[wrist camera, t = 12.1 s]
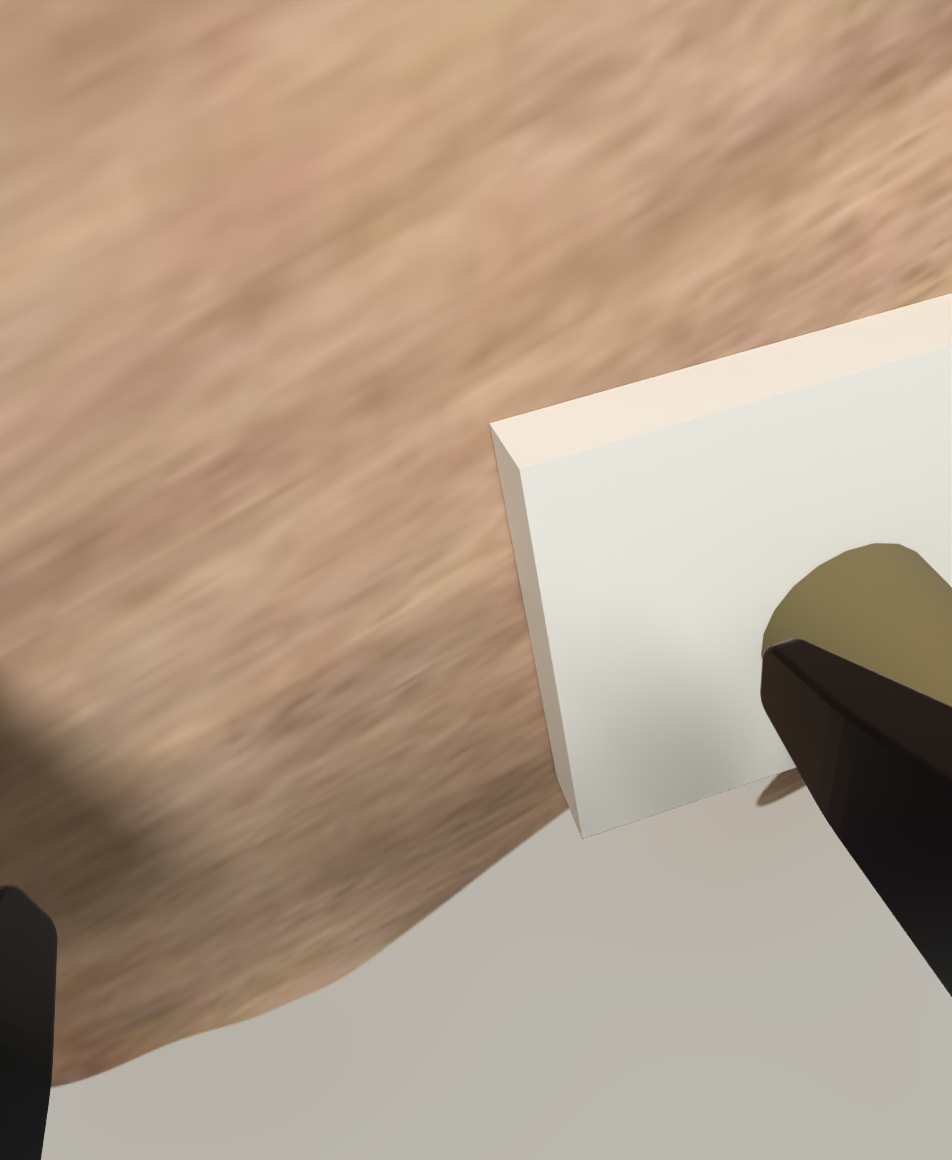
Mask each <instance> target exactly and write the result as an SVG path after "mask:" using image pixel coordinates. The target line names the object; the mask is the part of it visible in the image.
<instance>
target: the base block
mask: <svg viewBox="0 0 952 1160" xmlns="http://www.w3.org/2000/svg"><path fill="white" fill-rule="evenodd" d="M489 424H490V429H491V434H492V440H493V445H494V450H495V455H496V461H497V466H498V471H499V476H500V482H501V487H502V492H503V497H504V503H505V508H506V513H507V519H508V524H509V529H510V534H511V540H512V545H513V550H514V555H515V561H516V566H517V571H518V576H519V582H520V587H521V592H522V597H523V603H524V608H525V613H526V619H527V624H528V629H529V634H530V640H531V645H532V650H533V655H534V661H535V666H536V671H537V676H538V682H539V687H540V692H541V697H542V703H543V708H544V713H545V719H546V724H547V729H548V734H549V740H550V745H551V750H552V755H553V761H554V766H555V771H556V776H557V780H558V782H559V784H560V787H561V789H562V792H563V794H564V796H565V799H566V801H567V803H568V806H569V808H570V811H571V813H572V815H573V818H574V820H575V822H576V825H577V827H578V830H579V832H580V834H581V837H582V839H584V838H587V837H589V836H593V835H596V834H598V833H601V832H605V831H608V830H611V829H614V828H616V827H620V826H623V825H626V824H628V823H631V822H634V821H637V820H640V819H643V818H646V817H649V816H652V815H655V814H658V813H661V812H664V811H667V810H670V809H673V808H676V807H679V806H682V805H685V804H688V803H691V802H694V801H697V800H700V799H703V798H706V797H709V796H712V795H715V794H718V793H721V792H724V791H727V790H730V789H733V788H736V787H739V786H742V785H745V784H748V783H751V782H754V781H757V780H760V779H763V778H766V777H769V776H772V775H775V774H778V773H781V772H784V771H787V770H790V769H793V768H796V766H795V764H794V762H793V760H792V759H791V757H790V755H789V753H788V752H787V750H786V748H785V746H784V744H783V743H782V741H781V739H780V737H779V736H778V734H777V732H776V730H775V728H774V727H773V725H772V723H771V721H770V719H769V718H768V716H767V714H766V712H765V710H764V708H763V705H762V702H761V697H760V686H761V672H762V657H761V651H762V643H763V634H764V632H765V630H766V627H767V625H768V623H769V621H770V619H771V616H772V614H773V612H774V610H775V609H776V608H777V606H778V605H779V604H780V603H781V601H782V600H783V599H784V598H785V596H786V595H787V594H788V593H789V591H790V590H791V589H792V587H793V586H795V585H796V584H797V583H798V582H799V581H801V580H802V579H803V578H804V577H805V576H807V575H808V574H809V573H810V572H811V571H813V570H814V569H815V568H816V567H817V566H819V565H821V564H823V563H825V562H826V561H828V560H830V559H832V558H834V557H836V556H838V555H839V554H841V553H843V552H845V551H848V550H851V549H855V548H858V547H862V546H866V545H869V544H873V543H890V544H900V545H903V546H905V547H907V548H909V549H911V550H914V551H916V552H917V553H918V554H919V555H920V556H921V557H922V558H923V559H924V560H925V561H926V562H927V563H928V564H929V565H930V566H931V567H932V568H933V569H934V570H935V571H936V572H937V573H938V574H939V575H940V576H941V577H942V578H943V579H944V580H945V581H946V582H947V583H948V584H949V585H950V586H951V587H952V293H951V294H947V295H944V296H940V297H936V298H933V299H929V300H926V301H922V302H919V303H915V304H912V305H908V306H904V307H901V308H897V309H894V310H890V311H887V312H883V313H880V314H876V315H872V316H869V317H865V318H862V319H858V320H855V321H851V322H848V323H844V324H841V325H837V326H833V327H830V328H826V329H823V330H819V331H816V332H812V333H809V334H805V335H801V336H798V337H794V338H791V339H787V340H784V341H780V342H777V343H773V344H770V345H766V346H762V347H759V348H755V349H752V350H748V351H745V352H741V353H738V354H734V355H730V356H727V357H723V358H720V359H716V360H713V361H709V362H706V363H702V364H699V365H695V366H691V367H688V368H684V369H681V370H677V371H674V372H670V373H667V374H663V375H659V376H656V377H652V378H649V379H645V380H642V381H638V382H635V383H631V384H627V385H624V386H620V387H617V388H613V389H610V390H606V391H603V392H599V393H596V394H592V395H588V396H585V397H581V398H578V399H574V400H571V401H567V402H564V403H560V404H556V405H553V406H549V407H546V408H542V409H539V410H535V411H532V412H528V413H525V414H521V415H517V416H514V417H510V418H507V419H503V420H500V421H496V422H493V423H489Z"/></svg>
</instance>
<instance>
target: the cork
mask: <svg viewBox="0 0 952 1160" xmlns="http://www.w3.org/2000/svg"><path fill="white" fill-rule="evenodd" d="M793 638H799V639H803V640H806V641H808V642H810V643H813V644H815V645H817V646H819V647H821V648H824V649H826V650H828V651H830V652H832V653H835V654H837V655H839V656H841V657H844V658H846V659H848V660H850V661H852V662H855V663H857V664H859V665H861V666H864V667H866V668H868V669H870V670H872V671H875V672H877V673H879V674H881V675H883V676H886V677H888V678H890V679H892V680H895V681H897V682H899V683H901V684H903V685H906V686H908V687H910V688H912V689H915V690H917V691H919V692H921V693H923V694H926V695H928V696H930V697H932V698H934V699H937V700H939V701H941V702H943V703H946V704H948V705H950V706H952V587H951V586H950V585H949V584H948V583H947V582H946V581H945V580H944V579H943V578H942V577H941V576H940V575H939V574H938V573H937V572H936V571H935V570H934V569H933V568H932V567H931V566H930V565H929V564H928V563H927V562H926V561H925V560H924V559H923V558H922V557H921V556H920V555H919V554H918V553H917V552H916V551H914V550H911V549H909V548H907V547H905V546H903V545H900V544H890V543H873V544H869V545H866V546H862V547H858V548H855V549H851V550H848V551H845V552H843V553H841V554H839V555H838V556H836V557H834V558H832V559H830V560H828V561H826V562H825V563H823V564H821V565H819V566H817V567H816V568H815V569H814V570H813V571H811V572H810V573H809V574H808V575H807V576H805V577H804V578H803V579H802V580H801V581H799V582H798V583H797V584H796V585H795V586H793V587H792V589H791V590H790V591H789V593H788V594H787V595H786V596H785V598H784V599H783V600H782V601H781V603H780V604H779V605H778V606H777V608H776V609H775V610H774V612H773V614H772V616H771V619H770V621H769V623H768V625H767V627H766V630H765V632H764V634H763V643H762V651H761V657H762V658H763V652H764V651H765V649H766V648H767V647H768V646H770V645H773V644H776V643H779V642H782V641H786V640H789V639H793Z"/></svg>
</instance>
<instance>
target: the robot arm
mask: <svg viewBox="0 0 952 1160" xmlns="http://www.w3.org/2000/svg"><path fill="white" fill-rule="evenodd" d="M760 697H761V702H762V705H763V708H764V710H765V712H766V714H767V716H768V718H769V719H770V721H771V723H772V725H773V727H774V728H775V730H776V732H777V734H778V736H779V737H780V739H781V741H782V743H783V744H784V746H785V748H786V750H787V752H788V753H789V755H790V757H791V759H792V760H793V762H794V764H795V766H796V768H797V769H798V771H799V773H800V775H801V777H802V778H803V780H804V782H805V784H806V785H807V787H808V789H809V791H810V793H811V794H812V796H813V798H814V800H815V802H816V803H817V805H818V807H819V808H820V810H821V811H822V813H823V815H824V816H825V818H826V820H827V821H828V823H829V824H830V826H831V827H832V829H833V830H834V832H835V833H836V835H837V836H838V838H839V839H840V840H841V842H842V843H843V845H844V846H845V848H846V849H847V850H848V852H849V853H850V855H851V856H852V857H853V859H854V860H855V861H856V863H857V864H858V866H859V867H860V869H861V870H862V871H863V873H864V874H865V876H866V877H867V878H868V880H869V881H870V883H871V884H872V886H873V887H874V888H875V890H876V891H877V893H878V894H879V895H880V896H881V898H882V900H883V901H884V902H885V904H886V905H887V906H888V908H889V909H890V911H891V912H892V914H893V915H894V916H895V918H896V919H897V921H898V922H899V923H900V925H901V926H902V928H903V929H904V931H905V932H906V933H907V935H908V936H909V938H910V939H911V940H912V942H913V943H914V945H915V946H916V947H917V949H918V950H919V951H920V953H921V954H922V956H923V957H924V959H925V960H926V961H927V963H928V964H929V966H930V967H931V968H932V970H933V971H934V973H935V974H936V975H937V977H938V978H939V979H940V981H941V983H942V984H943V985H944V987H945V988H946V990H947V991H948V992H949V993H950V995H951V996H952V706H950V705H948V704H946V703H943V702H941V701H939V700H937V699H934V698H932V697H930V696H928V695H926V694H923V693H921V692H919V691H917V690H915V689H912V688H910V687H908V686H906V685H903V684H901V683H899V682H897V681H895V680H892V679H890V678H888V677H886V676H883V675H881V674H879V673H877V672H875V671H872V670H870V669H868V668H866V667H864V666H861V665H859V664H857V663H855V662H852V661H850V660H848V659H846V658H844V657H841V656H839V655H837V654H835V653H832V652H830V651H828V650H826V649H824V648H821V647H819V646H817V645H815V644H813V643H810V642H808V641H806V640H803V639H799V638H793V639H789V640H786V641H782V642H779V643H776V644H773V645H770V646H768V647H767V648H766V649H765V651H764V652H763V658H762V672H761V686H760ZM56 962H57V933H56V929H55V925H54V923H53V921H52V919H51V918H50V917H49V916H48V915H47V914H46V913H45V912H44V911H43V910H42V909H41V908H40V907H39V906H38V905H37V904H36V903H35V902H34V901H33V900H32V899H31V898H30V897H29V896H28V895H27V894H26V893H25V892H23V891H22V890H21V889H20V888H19V887H18V886H15V885H12V884H5V885H2V886H0V1160H41V1154H42V1147H43V1140H44V1133H45V1126H46V1119H47V1112H48V1105H49V1096H50V1088H51V1080H52V1065H53V1046H54V1018H55V990H56Z"/></svg>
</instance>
